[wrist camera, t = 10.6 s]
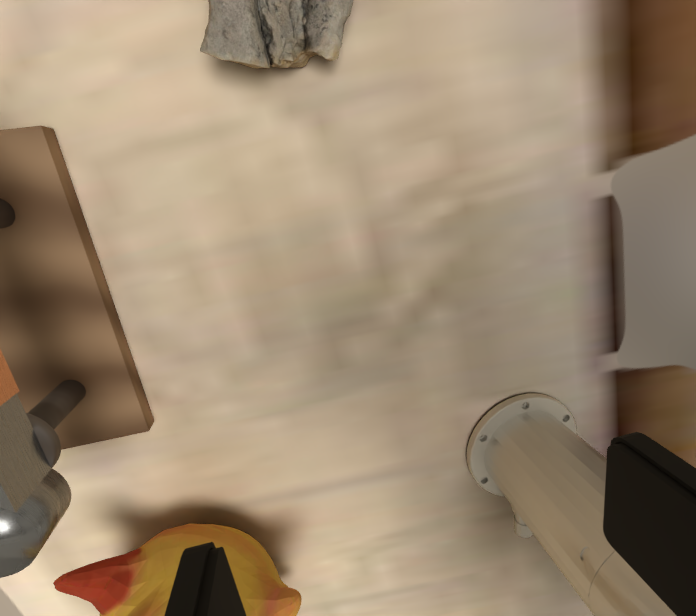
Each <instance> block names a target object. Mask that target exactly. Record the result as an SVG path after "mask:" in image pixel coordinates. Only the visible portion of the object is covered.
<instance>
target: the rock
mask: <svg viewBox="0 0 696 616" xmlns="http://www.w3.org/2000/svg"><path fill="white" fill-rule="evenodd" d="M352 4H353V0H209V23H208V25H207V27H206V30H205V37H204V40H203V43H202V45H201V48H200V51H201V52H203V53H207V54H209V55H211V56H214V57H216V58H219V59H221V60H225V61H231V62H236V63H239V64H242V65H245V66H248V67H252V68H255V69H257V68H269V69H270V66H272V67H281V68H288V67H296V68H297V67H301V68H302V67H304V66H305V65H306V64H307V62H308V60H309V58H310V57H312V56H315V55H319V56H321V57H323V58H324V59H326V60H327V61H334V60H336V59H338V56H339V49H340V47H341V45H342V36H343V26H344V23H345V21H346V20H347V18H348V17H349V16H350V12H351V8H352Z"/></svg>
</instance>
